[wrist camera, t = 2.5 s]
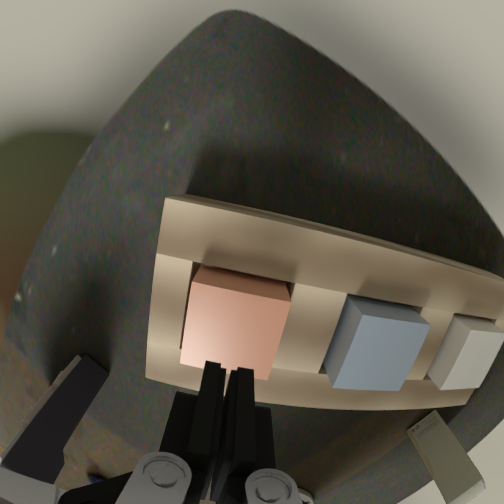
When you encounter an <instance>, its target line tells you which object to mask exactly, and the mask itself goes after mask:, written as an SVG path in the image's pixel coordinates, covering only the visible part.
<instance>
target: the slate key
mask: <svg viewBox="0 0 504 504" xmlns="http://www.w3.org/2000/svg"><path fill="white" fill-rule="evenodd" d="M430 327H431V324H430V323H428V322H427V321H426V320H425V319H424V318H423V317H422V316H421V315H419V314H418V313H417V312H416V311H415V310H414V309H413V308H411V307H410V306H407V305H401V304H395V303H390V302H384V301H379V300H373V299H368V298H363V297H357V296H352V295H347V296H346V299H345V302H344V305H343V308H342V311H341V314H340V317H339V320H338V322H337V325H336V328H335V331H334V334H333V336H332V339H331V342H330V344H329V347H328V349H327V352H326V355H325V357H324V360H323V364H324V367H325V369H326V372H327V375H328V377H329V380H330V383H331V385H332V388H340V389H355V390H378V391H399V390H400V388H401V387H402V385H403V383H404V381H405V379H406V377H407V375H408V373H409V371H410V369H411V367H412V366H413V364H414V361H415V359H416V357H417V355H418V353H419V351H420V349H421V347H422V345H423V342H424V340H425V338H426V336H427V334H428V331H429V329H430Z"/></svg>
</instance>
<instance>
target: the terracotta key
mask: <svg viewBox="0 0 504 504" xmlns="http://www.w3.org/2000/svg"><path fill="white" fill-rule="evenodd" d="M290 306H291V299H290V296H289V293H288V290H287V287H286V284H285V282H281V281H276V280H271V279H266V278H261V277H256V276H252V275H247V274H242V273H237V272H233V271H228V270H223V269H219V268H214V267H210V266H205V265H201V266H200V268H199V270H198V271H197V273H196V275H195V277H194V279H193V280H192V284H191V290H190V296H189V302H188V309H187V315H186V322H185V329H184V336H183V343H182V350H181V358H180V363H181V364H185V365H189V366H193V367H198V368H202V369H204V366H205V361H206V360H207V361H211V362H216V363H221V368H226V373H227V374H230V372H231V370H237V368H238V367H243V368H249V369H254V378H255V379H261V380H268V377H269V374H270V371H271V368H272V365H273V362H274V359H275V355H276V352H277V349H278V346H279V343H280V339H281V336H282V333H283V329H284V326H285V323H286V319H287V316H288V313H289V309H290Z"/></svg>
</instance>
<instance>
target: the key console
mask: <svg viewBox="0 0 504 504" xmlns="http://www.w3.org/2000/svg"><path fill="white" fill-rule="evenodd" d="M201 265H205V266H210V267H214V268H219V269H223V270H228V271H233V272H237V273H242V274H247V275H252V276H256V277H261V278H266V279H271V280H276V281H281V282H285V284H286V287H287V290H288V293H289V296H290V299H291V306H290V309H289V313H288V316H287V319H286V323H285V326H284V329H283V333H282V336H281V339H280V343H279V346H278V349H277V352H276V355H275V359H274V362H273V365H272V368H271V371H270V374H269V377H268V380H261V379H255V378H254V390H255V401H258V402H265V403H272V404H281V405H290V406H300V407H311V408H325V409H344V410H407V409H425V408H438V407H449V406H458V405H465V404H466V403H467V401H468V399H469V398H470V396H471V395H472V393H473V391H474V390H475V388H468V389H454V390H440V389H439V388H438V387H437V386H436V384H435V383H434V382H433V381H432V379H431V378H430V377H429V376H428V374H427V371H428V369H429V367H430V365H431V363H432V361H433V359H434V357H435V355H436V353H437V351H438V349H439V347H440V345H441V342H442V340H443V338H444V336H445V334H446V331H447V329H448V327H449V324H450V322H451V320H452V317H453V315H454V314H460V315H466V316H472V317H478V318H485V319H487V320H488V321H490V322H491V323H493V324H494V325H495V326H497V327H498V328H500V329H501V330H502V331H504V279H503V278H501V277H499V276H497V275H495V274H493V273H491V272H489V271H486V270H483V269H480V268H477V267H474V266H471V265H468V264H464V263H461V262H458V261H455V260H452V259H448V258H445V257H442V256H438V255H435V254H432V253H428V252H425V251H421V250H418V249H414V248H411V247H407V246H404V245H400V244H397V243H393V242H389V241H386V240H382V239H378V238H375V237H371V236H367V235H363V234H360V233H356V232H352V231H348V230H344V229H340V228H336V227H332V226H328V225H324V224H320V223H316V222H312V221H308V220H304V219H300V218H296V217H291V216H287V215H283V214H278V213H274V212H270V211H265V210H261V209H256V208H252V207H247V206H243V205H238V204H233V203H228V202H224V201H219V200H214V199H209V198H204V197H199V196H194V195H189V194H181V195H177V196H172V197H168V198H165V203H164V209H163V215H162V221H161V227H160V234H159V240H158V247H157V254H156V261H155V269H154V277H153V286H152V295H151V305H150V316H149V327H148V341H147V357H146V378H149V379H153V380H156V381H160V382H164V383H168V384H172V385H176V386H180V387H184V388H188V389H193V390H197V391H199V390H200V385H201V380H202V375H203V371H204V369H202V368H198V367H193V366H189V365H185V364H181V363H180V358H181V350H182V343H183V336H184V329H185V322H186V315H187V309H188V302H189V296H190V290H191V284H192V280H193V279H194V277H195V275H196V273H197V271H198V270H199V268H200V266H201ZM347 295H352V296H357V297H363V298H368V299H373V300H379V301H384V302H390V303H395V304H401V305H407V306H410V307H411V308H413V309H414V310H415V311H416V312H417V313H418V314H419V315H421V316H422V317H423V318H424V319H425V320H426V321H427V322H428V323H430V324H431V327H430V329H429V331H428V334H427V336H426V338H425V340H424V342H423V345H422V347H421V349H420V351H419V353H418V355H417V357H416V359H415V361H414V364H413V366H412V367H411V369H410V371H409V373H408V375H407V377H406V379H405V381H404V383H403V385H402V387H401V388H400V390H399V391H378V390H355V389H340V388H332V385H331V383H330V380H329V377H328V375H327V372H326V369H325V367H324V364H323V360H324V357H325V355H326V352H327V349H328V347H329V344H330V342H331V339H332V336H333V334H334V331H335V328H336V325H337V322H338V320H339V317H340V314H341V311H342V308H343V305H344V302H345V299H346V296H347ZM229 376H230V374H227V373H226V379H225V389H224V396H225V392H226V388H227V384H228V380H229Z"/></svg>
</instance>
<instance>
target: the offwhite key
mask: <svg viewBox="0 0 504 504" xmlns="http://www.w3.org/2000/svg"><path fill="white" fill-rule="evenodd" d="M503 341H504V331H502V330H501V329H500V328H498V327H497V326H495V325H494V324H493V323H491V322H490V321H488V320H487V319H485V318H478V317H472V316H466V315H460V314H454V315H453V317H452V320H451V322H450V324H449V327H448V329H447V331H446V334H445V336H444V338H443V340H442V342H441V345H440V347H439V349H438V351H437V353H436V355H435V357H434V359H433V361H432V363H431V365H430V367H429V369H428V371H427V374H428V376H429V377H430V378H431V379H432V381H433V382H434V383H435V384H436V386H437V387H438V388H439V389H440V390H454V389H468V388H479V387H480V385H481V383H482V382H483V380H484V378H485V376H486V374H487V373H488V371H489V369H490V367H491V365H492V363H493V361H494V359H495V357H496V355H497V353H498V351H499V349H500V347H501V345H502V343H503Z"/></svg>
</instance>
